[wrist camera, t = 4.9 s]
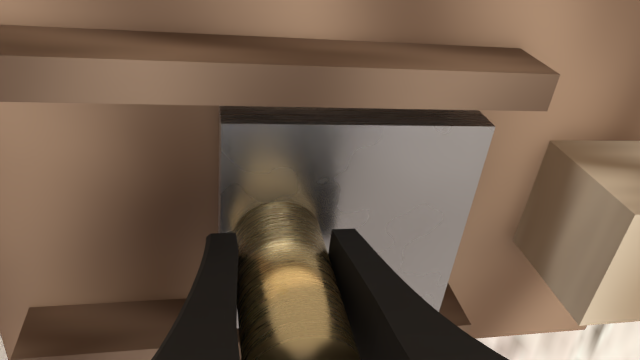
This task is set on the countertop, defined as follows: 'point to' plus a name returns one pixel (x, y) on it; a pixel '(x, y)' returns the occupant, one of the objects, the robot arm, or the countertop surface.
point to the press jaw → (339, 211)
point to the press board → (273, 91)
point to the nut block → (587, 228)
